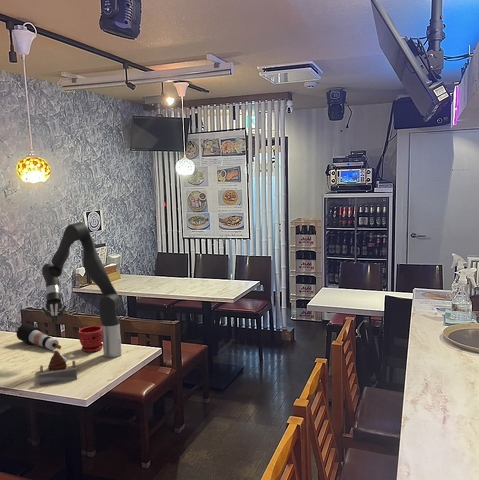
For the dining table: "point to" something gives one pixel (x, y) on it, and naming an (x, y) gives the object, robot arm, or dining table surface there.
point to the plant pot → (91, 338)
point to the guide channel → (57, 375)
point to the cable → (36, 337)
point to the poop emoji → (57, 362)
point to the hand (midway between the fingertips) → (54, 323)
